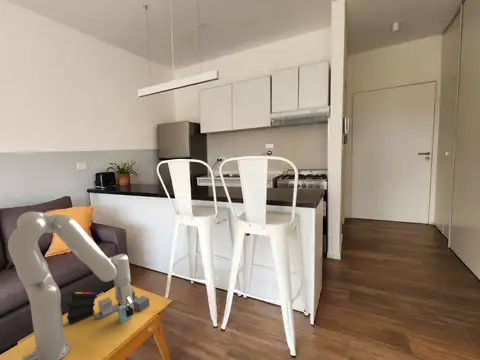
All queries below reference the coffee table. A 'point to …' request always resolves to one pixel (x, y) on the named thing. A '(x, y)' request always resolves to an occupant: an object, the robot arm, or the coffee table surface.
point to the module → (123, 314)
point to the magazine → (80, 306)
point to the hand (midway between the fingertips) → (126, 311)
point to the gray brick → (141, 303)
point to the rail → (109, 306)
